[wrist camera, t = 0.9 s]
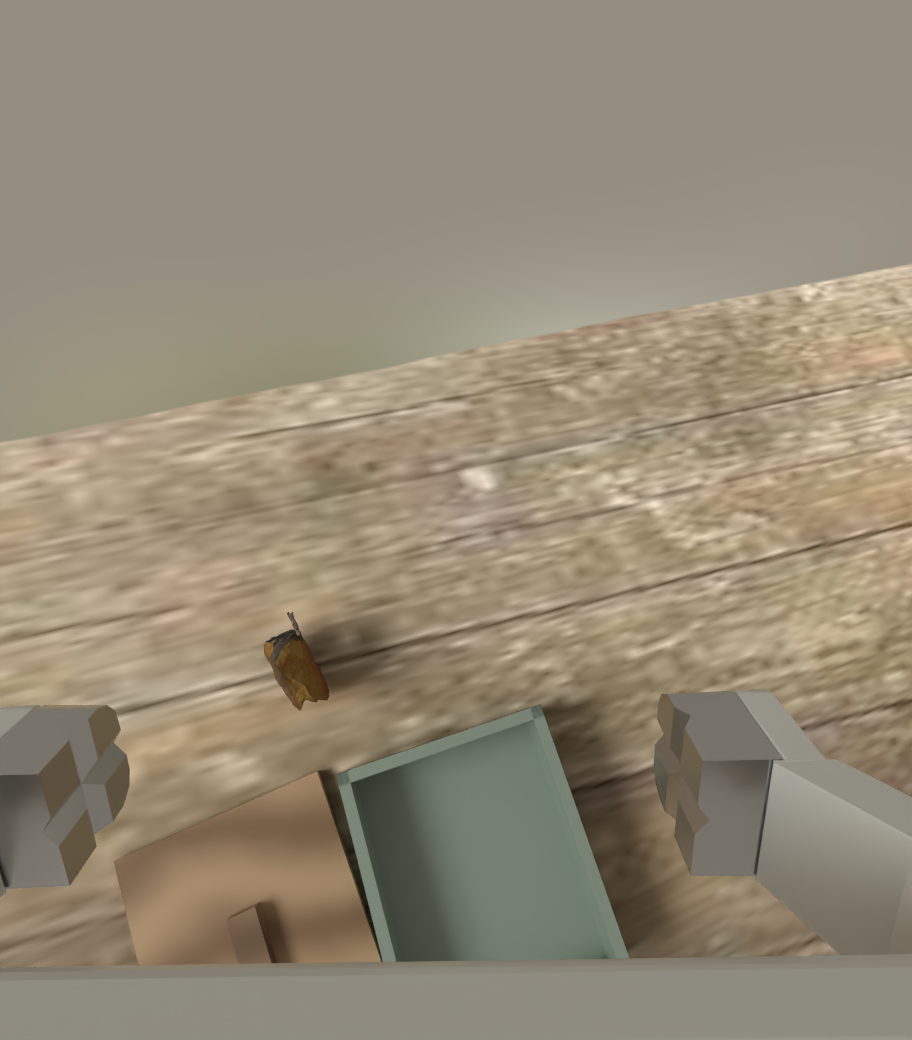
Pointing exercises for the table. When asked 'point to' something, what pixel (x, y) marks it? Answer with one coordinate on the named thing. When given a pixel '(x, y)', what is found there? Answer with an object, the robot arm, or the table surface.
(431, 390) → the table surface
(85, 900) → the table surface
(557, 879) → the bin
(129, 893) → the lid
